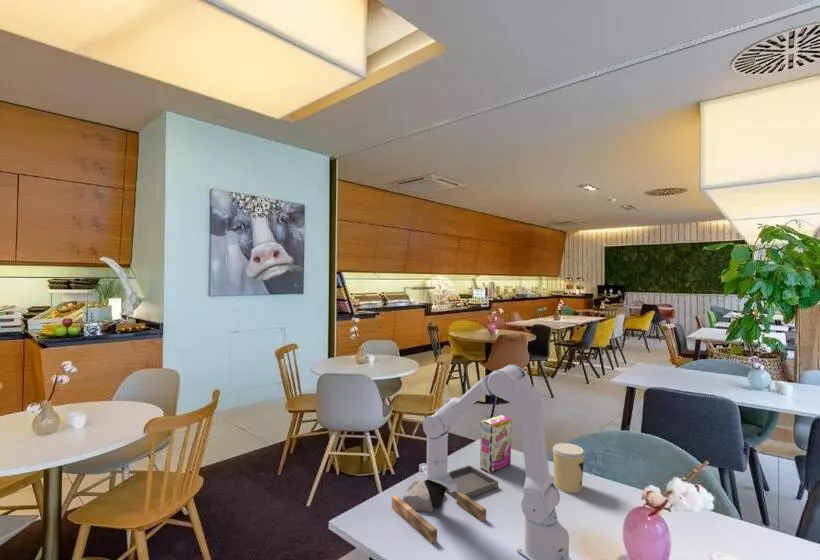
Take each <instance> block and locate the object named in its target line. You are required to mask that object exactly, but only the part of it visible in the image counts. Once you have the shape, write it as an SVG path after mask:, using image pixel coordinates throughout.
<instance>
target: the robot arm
mask: <svg viewBox="0 0 820 560" xmlns="http://www.w3.org/2000/svg"><path fill="white" fill-rule="evenodd" d="M486 395H487V396H491V395H494V396H496V397H497V398H500V399H502V400H504V401H506V402H509V403H511V404H512V405H514V407H516V409H518V414H519V424H520V433H521V443H522V450H523V451H522V452H523V461H524V468H525V480H524V485H523V498H522V500H521V504H520V506H521V507H520V508H521V511H522V514H523V515H524V543H523V544H522V545H520V546H519V547H517V548H516V551H517V552H518V553H519V554H520V555H522V556H524V558H526V559H527V560H571V559H572V558H571V557H570V556H569V555H570V552H569V551H570V548H569V547H570V542H569V541H570V537H569V536H570V535H569V531H568V529H566V527H564V526H563V525H562V524H561V522H559V519H558V514H557V511H556V507H557V506H558V505H559V503H560V501H561V494H560V492H559V491H560V490H559V489H558V488H557V487H556V486H555V478H554V475H551V473H550V470H549V464H548V463H549V462H548V452H547V442H546V436H545V427H544V418H543V411H542V410H543V408H542V400H541V397H540V395H539V393H538V392H537V390H536V388H535V387H534V385H533V384H532V382H531V380H530V379H529V374H528V372H527V371H525V370H524V369H523V368H521V367H520V366H518V365H516V364H507V365H505V366H504V367H502V368H500V369H497V370H493V371H491V372H490V373H489V374H488V375H485V376H483V377H482V378H481V379H479V380H478V381H477V382H476V383H475V384H473V386H472V387H470V389H468V390H467V391H466V392H465V393H463V394H462V395H461V396H460V397H457V396H456V397H455V396H454V397H449V398H447V399H446V400H445V401H444V402H445V403H444V405H443V406H441V407H440V408H439V407H438V408H436V409H435V410H434V414H432V415H428V416H426V417H425V419H424V420H423V423H422V429H423V432H424V434H425V435H426V463H425V462H423V463H420V464H418V467H419V468H418V472H419V473H423V474H424V476H425V477H426V479H424V480H425V485H426V487H427V489H428V492H429V495H430V498H431V503H432V507H433V508H434V510H437V509H441V507H442V504H443V500H444V497H445V495H446V490H447V489H449V492H450V493H452V492H455V491H457V484H456V483H455V482H454V481H453V480H452V478H451V477H450V475H449V474H450V470H449V469H448V455H449V454H448V438H449V432H450V431H451V429H452V427H454V426H455V425H457V424H458V423H459V422H461V420H463V419H464V418H465V417H466V416H467V415H468V411H469V410H468V408H469V407H471V406H472V405H474V404H475V403H476V402H477V401H479V400H480V399H482V398H483V397H485V396H486Z"/></svg>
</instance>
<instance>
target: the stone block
mask: <svg viewBox="0 0 820 560" xmlns="http://www.w3.org/2000/svg"><path fill="white" fill-rule="evenodd" d="M425 480H426V479H422V480H417V481H413V482H411V484H410V485H409V487H408V488H406V491H405V492H404V493H403V497H402V500H403V501H404V502H405V503H406V504H408V505H409V506H410V507H411V508H412V509H414V510H415V511H421V512H428V513H432V512H433V511H434V510H435V508H433V507H432V503H431V498H430V495H429V492H428V489H427V487H426V485H425Z"/></svg>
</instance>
